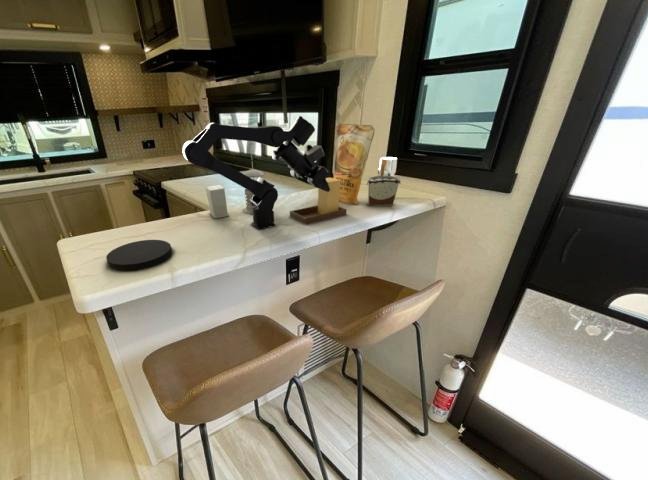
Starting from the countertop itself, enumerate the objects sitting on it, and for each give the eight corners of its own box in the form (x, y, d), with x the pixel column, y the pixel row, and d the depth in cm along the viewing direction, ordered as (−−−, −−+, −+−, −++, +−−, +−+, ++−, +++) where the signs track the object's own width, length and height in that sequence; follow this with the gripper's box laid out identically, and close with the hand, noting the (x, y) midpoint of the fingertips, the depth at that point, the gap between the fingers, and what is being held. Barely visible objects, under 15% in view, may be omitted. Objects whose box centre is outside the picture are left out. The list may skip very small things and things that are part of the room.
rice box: (327, 216, 112) (328, 182, 106) (317, 212, 117) (318, 179, 111) (338, 214, 114) (340, 179, 108) (328, 210, 119) (329, 177, 112)
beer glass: (393, 195, 133) (399, 157, 125) (389, 199, 128) (395, 159, 120) (377, 193, 137) (382, 156, 129) (372, 197, 132) (377, 159, 124)
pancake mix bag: (338, 194, 139) (342, 123, 124) (368, 203, 124) (377, 124, 110) (326, 197, 137) (329, 124, 122) (354, 206, 122) (362, 125, 107)
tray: (305, 224, 107) (305, 218, 106) (289, 217, 115) (289, 211, 114) (346, 215, 113) (346, 209, 112) (328, 208, 121) (328, 202, 120)
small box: (228, 216, 120) (224, 188, 114) (214, 218, 118) (209, 190, 113) (223, 211, 126) (219, 184, 121) (209, 213, 125) (205, 186, 119)
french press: (258, 205, 131) (253, 139, 118) (275, 210, 123) (272, 140, 110) (239, 210, 126) (231, 142, 113) (255, 216, 118) (249, 143, 105)
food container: (393, 200, 126) (397, 174, 120) (397, 205, 121) (401, 178, 115) (362, 201, 127) (365, 176, 122) (364, 205, 122) (367, 179, 117)
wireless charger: (160, 241, 101) (158, 235, 100) (181, 257, 89) (180, 251, 88) (102, 256, 92) (100, 250, 91) (117, 277, 80) (114, 270, 79)
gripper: (323, 138, 92) (352, 173, 101) (297, 135, 107) (324, 165, 116) (299, 170, 94) (330, 201, 103) (277, 162, 109) (305, 190, 118)
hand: (322, 188), depth 110 cm, fingers open, 9 cm apart
